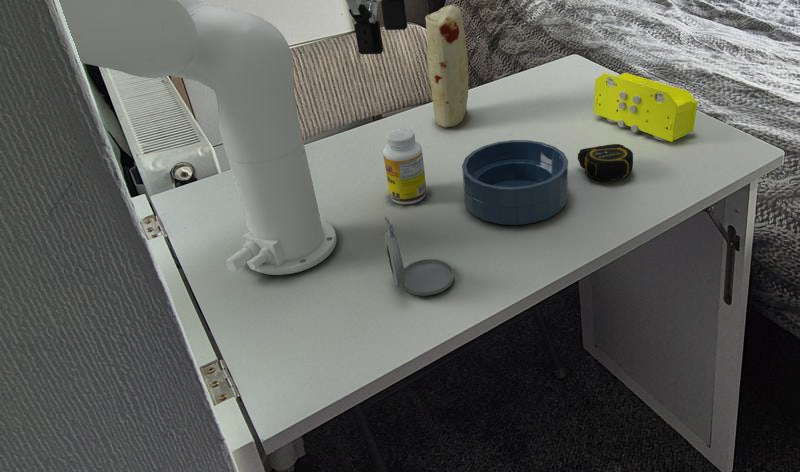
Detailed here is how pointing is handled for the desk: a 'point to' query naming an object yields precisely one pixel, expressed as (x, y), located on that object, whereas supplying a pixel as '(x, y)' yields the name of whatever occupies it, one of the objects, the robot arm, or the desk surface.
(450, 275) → the pocket watch
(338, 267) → the desk surface
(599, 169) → the tape measure
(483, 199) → the blue faceted bowl
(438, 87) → the food model
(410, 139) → the supplement bottle
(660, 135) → the yellow toy chassis
